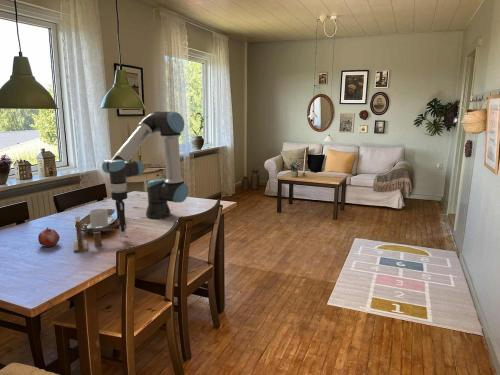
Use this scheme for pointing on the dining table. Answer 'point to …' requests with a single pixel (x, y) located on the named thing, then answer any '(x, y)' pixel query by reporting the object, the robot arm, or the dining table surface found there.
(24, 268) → the dining table surface
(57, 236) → the fruit
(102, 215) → the mug
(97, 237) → the saddle block
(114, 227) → the hook rod
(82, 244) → the wooden square frame
